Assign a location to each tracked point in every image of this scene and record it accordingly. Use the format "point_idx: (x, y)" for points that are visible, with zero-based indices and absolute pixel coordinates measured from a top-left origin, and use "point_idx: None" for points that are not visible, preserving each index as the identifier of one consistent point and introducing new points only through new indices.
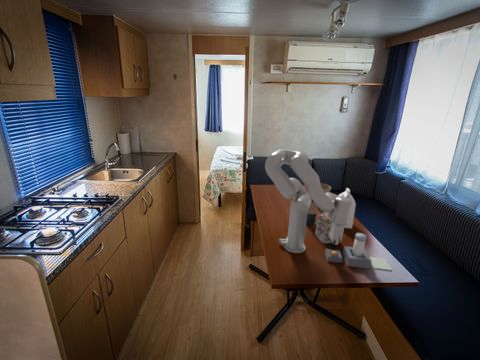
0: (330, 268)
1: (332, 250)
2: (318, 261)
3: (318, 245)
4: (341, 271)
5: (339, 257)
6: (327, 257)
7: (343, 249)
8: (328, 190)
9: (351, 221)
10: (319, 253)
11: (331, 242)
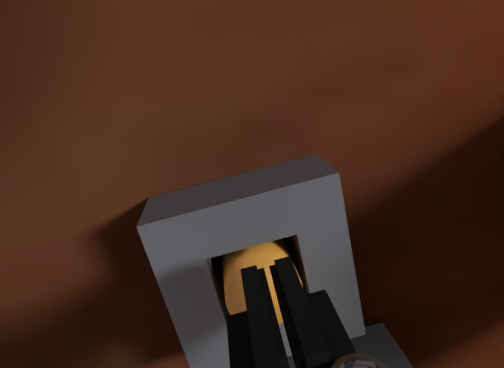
0: (17, 249)
1: (328, 260)
2: (78, 95)
3: (475, 48)
4: (38, 349)
5: (197, 352)
6: (160, 209)
7: (408, 363)
8: None
9: None
10: (281, 85)
11: (306, 362)
